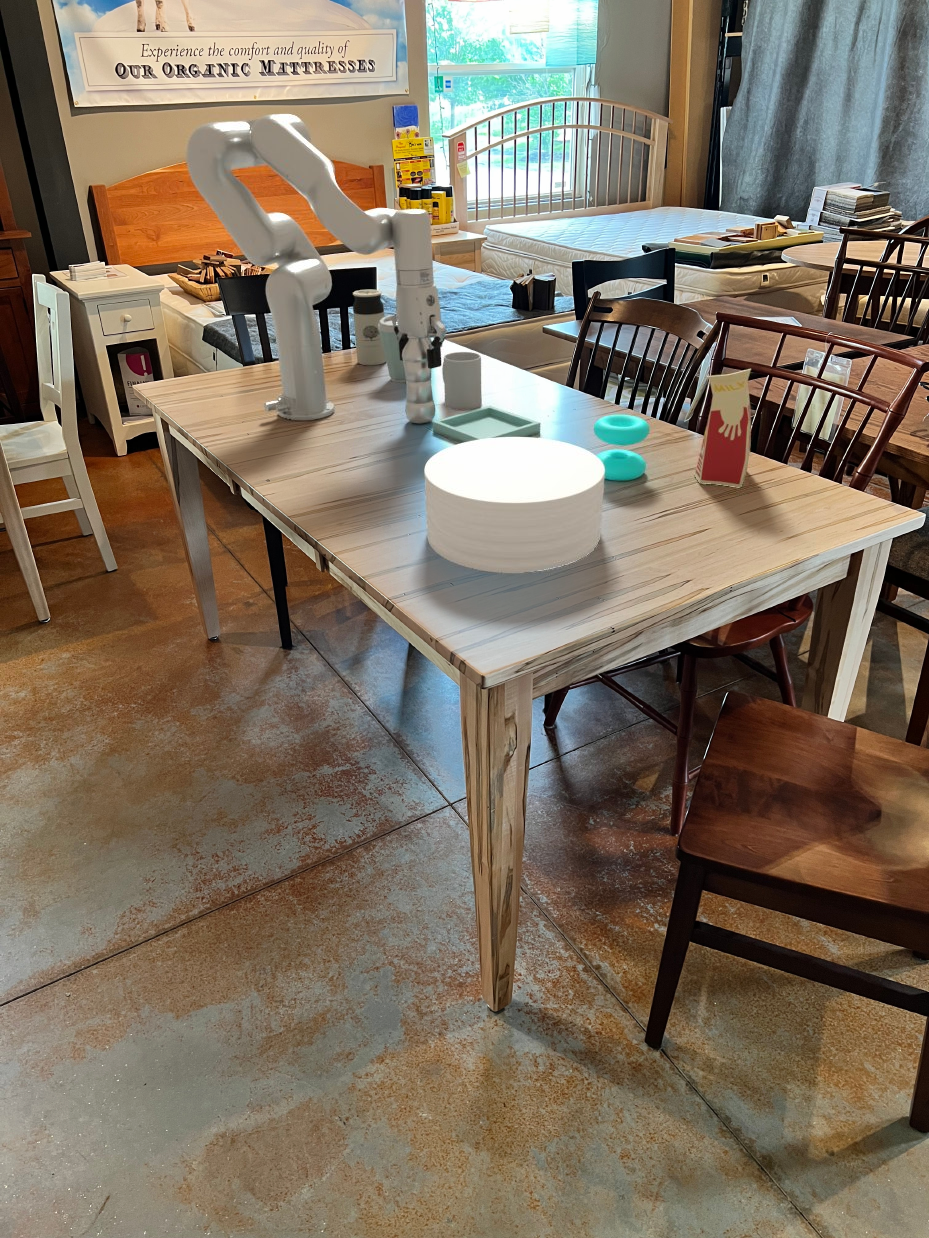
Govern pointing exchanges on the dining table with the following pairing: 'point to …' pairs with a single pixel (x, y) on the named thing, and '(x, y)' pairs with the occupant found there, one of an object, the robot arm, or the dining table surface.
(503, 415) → the tray
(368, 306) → the travel mug
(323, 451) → the dining table surface
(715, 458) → the milk carton
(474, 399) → the mug
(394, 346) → the disposable coffee cup
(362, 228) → the robot arm
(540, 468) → the plate stack
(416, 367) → the plastic bottle
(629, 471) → the donuts
